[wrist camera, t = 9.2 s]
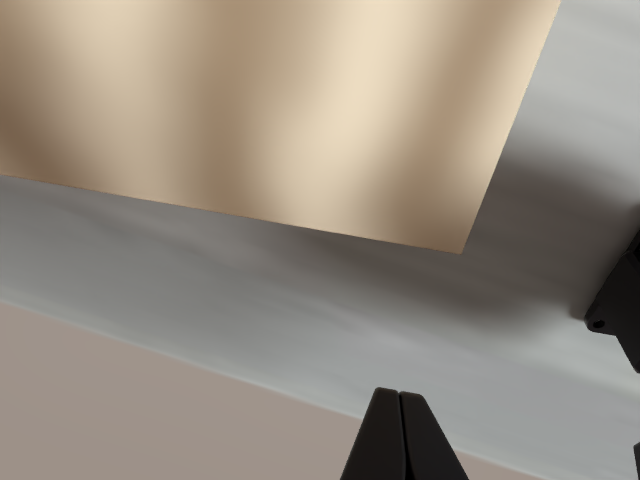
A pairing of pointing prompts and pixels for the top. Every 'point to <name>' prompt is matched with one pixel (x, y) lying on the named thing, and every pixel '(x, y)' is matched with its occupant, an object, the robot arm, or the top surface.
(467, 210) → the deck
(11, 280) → the top surface
